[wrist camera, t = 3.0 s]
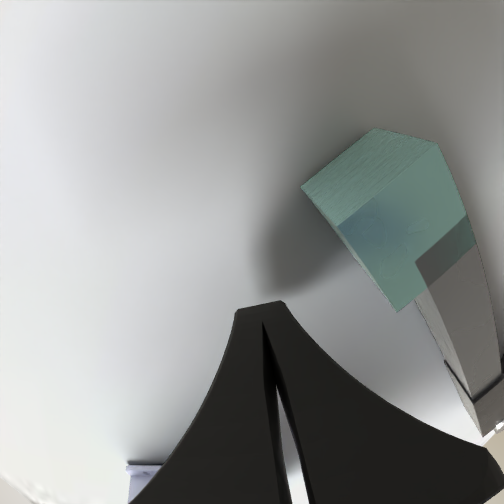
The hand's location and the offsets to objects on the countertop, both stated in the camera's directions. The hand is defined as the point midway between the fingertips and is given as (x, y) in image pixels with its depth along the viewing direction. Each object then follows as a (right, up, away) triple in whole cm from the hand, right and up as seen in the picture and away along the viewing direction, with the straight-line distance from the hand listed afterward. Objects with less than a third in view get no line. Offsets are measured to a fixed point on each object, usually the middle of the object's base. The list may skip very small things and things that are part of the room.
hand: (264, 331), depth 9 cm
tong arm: (+10, -2, +3) cm, 11 cm away
